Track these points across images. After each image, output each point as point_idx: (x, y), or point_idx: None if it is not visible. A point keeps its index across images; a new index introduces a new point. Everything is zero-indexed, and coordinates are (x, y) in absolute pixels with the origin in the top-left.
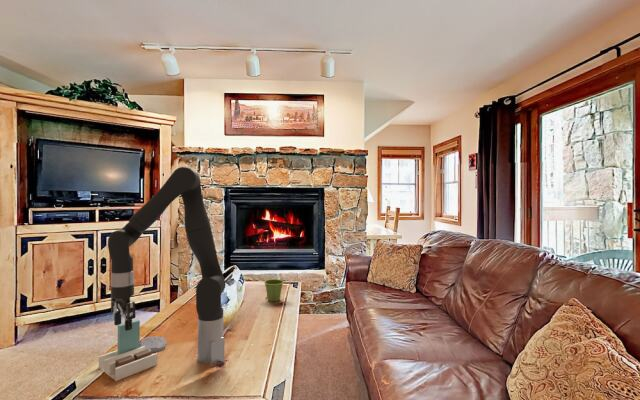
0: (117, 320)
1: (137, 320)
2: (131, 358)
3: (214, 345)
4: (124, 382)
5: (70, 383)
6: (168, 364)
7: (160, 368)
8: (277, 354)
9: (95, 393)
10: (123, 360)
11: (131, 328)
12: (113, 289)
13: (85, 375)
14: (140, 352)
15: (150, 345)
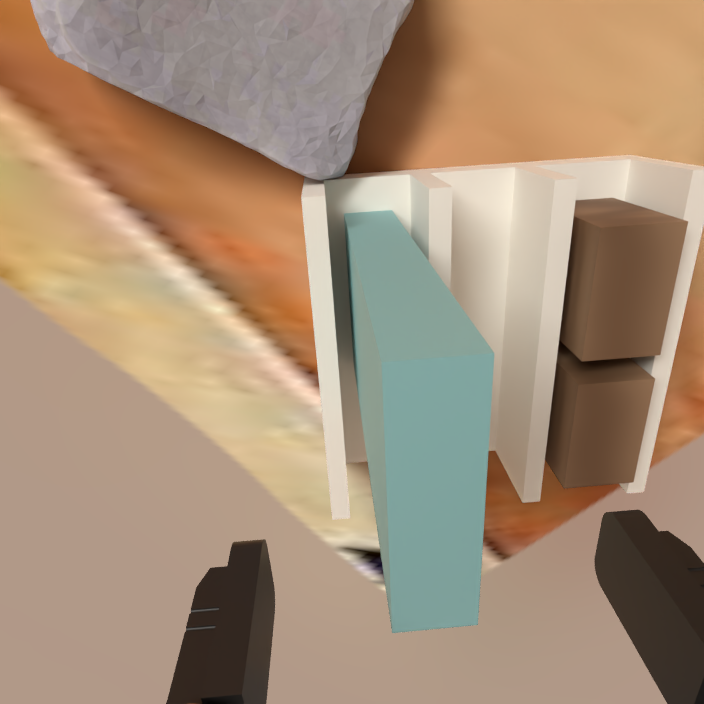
0: (262, 639)
1: (443, 376)
2: (648, 402)
3: None
4: None
5: (358, 565)
6: (654, 46)
7: (651, 135)
8: None
9: (570, 511)
10: (623, 452)
11: (642, 517)
12: None
13: (321, 503)
14: (609, 307)
15: (298, 49)
